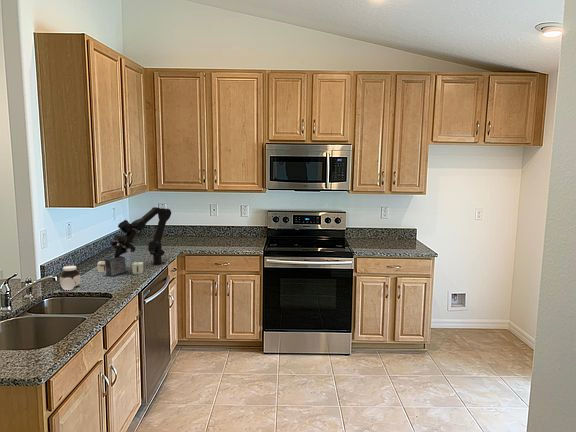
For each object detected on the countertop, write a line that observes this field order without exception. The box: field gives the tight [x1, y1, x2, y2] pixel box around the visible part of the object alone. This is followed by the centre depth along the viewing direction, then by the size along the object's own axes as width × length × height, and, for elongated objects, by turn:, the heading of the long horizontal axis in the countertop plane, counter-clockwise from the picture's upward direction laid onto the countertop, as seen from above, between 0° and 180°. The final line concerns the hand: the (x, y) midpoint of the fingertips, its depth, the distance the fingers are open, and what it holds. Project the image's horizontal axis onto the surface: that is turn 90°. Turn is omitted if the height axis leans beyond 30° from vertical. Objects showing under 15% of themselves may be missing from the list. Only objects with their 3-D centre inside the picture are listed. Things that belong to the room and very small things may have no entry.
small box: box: [104, 255, 127, 277], centre depth 281 cm, size 11×6×10 cm, turn 141°
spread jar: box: [59, 265, 82, 292], centre depth 251 cm, size 12×11×12 cm
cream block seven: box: [96, 260, 106, 273], centre depth 289 cm, size 6×6×6 cm
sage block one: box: [131, 261, 144, 275], centre depth 287 cm, size 6×6×6 cm
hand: (114, 257), depth 281 cm, fingers closed
